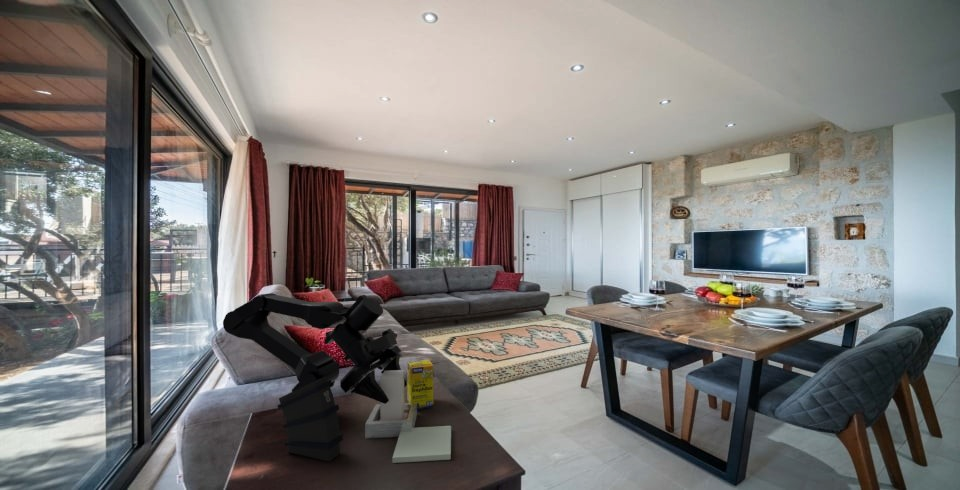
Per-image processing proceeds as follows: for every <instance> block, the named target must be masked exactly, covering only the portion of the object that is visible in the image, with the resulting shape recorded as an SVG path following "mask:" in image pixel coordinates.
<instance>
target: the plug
mask: <svg viewBox="0 0 960 490" xmlns="http://www.w3.org/2000/svg"><path fill="white" fill-rule="evenodd" d="M381 374H382V373H381ZM404 378H405V369H401V370H390V371H384V372H383V374H382V375H380V380H379V381H380V382H379V383H380V384H379V386H380V387H381V389H382V390H383V391H384V393H385V394H386V396H387V397H388V399H389V401H388V402H387V403H386V404H384V403H382V402H380V404H381V418H380V420H379V421H390V420H407V418H408V413H404V403H405V388H404Z"/></svg>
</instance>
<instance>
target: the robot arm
mask: <svg viewBox="0 0 960 490" xmlns="http://www.w3.org/2000/svg"><path fill="white" fill-rule="evenodd" d="M272 313H275V314H279V315H283V316H287V317H293V318H297V319H300V320H303V321H305V323H306V324H307V325H309V326H311V327H313V328H316V329H318V330H324V329H328V328H331V327H334V328H333V329H332V330H330V331H327V332H325V337H324V344H325V345H328V344H331V343H335V344H336V345H337V346H338V347H339V348H340V350H341V351H342V352H343V353H344V354H345V356H344V357H343V360H344V362H348V361H349V360H350V362H351V363H352V364H353V365H354V366H352V367H351V369H350V370H349V371H348V372H347V373H346V374H345V375H344V376H343V378H341V379H340V383H339V384H340V387H339V388H341V390H342V391H343V392H344V393H345V394H348V393H349V392H350V394H351V395H352V394H356V395H359V396H363V397H366V398H369V399H372V400H373V401H376V402H379V403H381V402H382V403H384V404H386V403H387V402H388V401H389V399H388V397H387V396H386V394H385V393H384V391H383V390H382V389H381V387H380V384H379V383H378V381H377V380H376V374H375V373H376V371H375V370H376V369H378V370H381V372H380V373H381V374H383V372H384V371H390V370H402V369H401V366H400V358H401V356H402V355H401V352H402V350H401V348H400V347H399V346H398V345H397V344H398V342H397V338H398V333H395V330H392V329H391V328H388V329H386V330H384V331H382V332H381V336H380V337H378V338H376V339H374V338H373V337H372V336H369V337H366V336H365V335H364V334H363V333H362V332H366V331H368V330H369V329H370V328H371V327H372V325H373V324H374V323H375V322H376V321H377V320H379V318H380V317H381V316H382V314H384V309H383V307H382V305H381V304H380V303H379V302H377V301H376V300H374V299H373V298H369V297H368V296H367V295H366V294H362V295H359V296H358V297H357V298H356V299H355V302H354V303H353V304H352V305H351V306H350V307H349V306H344V304H343V303H341V302H339V301H317V302H315V301H314V302H313V301H307V300H303V299H299V298H298V299H297V298H292V297H288V296H285V295H284V296H283V295H279V294H276V293H272V292H269V293H261V294H258V295H256V296H254V297H253V298H252V299H251V300H249V301H247V302H246V303H243V304H242V305H240V306H238V307H236V308H235V309H234V310H232V311H229V312H227V313H226V314H225V316H224V318H223V319H222V320H223V321H222V326H223V329H224V331H225V332H226V333H228V334H230V336H231V335H232V336H234V337H236V338H239V339H243V340H249V341H250V340H251V341H252V342H254V343H255V344H257V345H259V346H260V347H262V348H263V349H265V350H266V351H267V352H268V353H270V354H271V355H272V356H274V357H275V358H277V359H279V361H281V362H283V363H284V364H285V365H287V366H288V367H289V368H291V369H292V370H294V374H295V376H296V379H297V381H298V383H297V384H296V385H295V386H294V387H293V388H292V389H291V392H293V391H295V390H297V389H299V388H301V387H303V386H305V385H308V384H310V383H312V382H314V381H316V380H318V379H320V378H323V377H325V376H326V377H327V380H328V381H330V380H331V382H332V384H331V385H329V386H330V389H331V388H333V387H334V385H335V383H336V381H337V380H338V377H339V375H340V368H339V363H338V362H337V361H336V360H335V359H336V358H335V357H333V356H330V354H328V353H327V352H326V351H325V350H320V351H317V352H315V353H311V352H309V351H308V350H306V349H305V348H303V347H302V346H300V345H299V344H297V342H294V341H293V340H291V339H290V338H288V337H287V336H286V335H284V334H283V333H282V332H280V331H278V330H277V329H275V328H274V327H272V326H271V325H270V323H269V320H268V317H269V316H270V315H271V314H272ZM406 387H408V382H407V380H406V377H404V389H405V388H406Z"/></svg>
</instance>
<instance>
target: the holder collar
mask: <svg viewBox="0 0 960 490" xmlns="http://www.w3.org/2000/svg"><path fill="white" fill-rule="evenodd" d="M404 413H408V418H407V420H390V421H380V418H381V403H377V404H375V405H374V407H373V408H372V411H371V412H370V414H369V417H368V419H367V420H366V422H365V425H364V434H365V435H364V437H365V439H377V438H378V439H380V438H397V437H398V438H399V435H400V432H407V431H412V429H413V428H415V426H416V425H415V424H416V420H417V417H418V410H417V402H413V403H408V402H404Z"/></svg>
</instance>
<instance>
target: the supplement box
mask: <svg viewBox="0 0 960 490" xmlns="http://www.w3.org/2000/svg"><path fill="white" fill-rule="evenodd" d="M406 383H407V403H413V402H417V411H419V410H422V409H423V410H425V409H429V408H431V409H432V408H434V364H433V362H431V361H430V359H422V360H413V361H412V360H411V361H407V380H406Z"/></svg>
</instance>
